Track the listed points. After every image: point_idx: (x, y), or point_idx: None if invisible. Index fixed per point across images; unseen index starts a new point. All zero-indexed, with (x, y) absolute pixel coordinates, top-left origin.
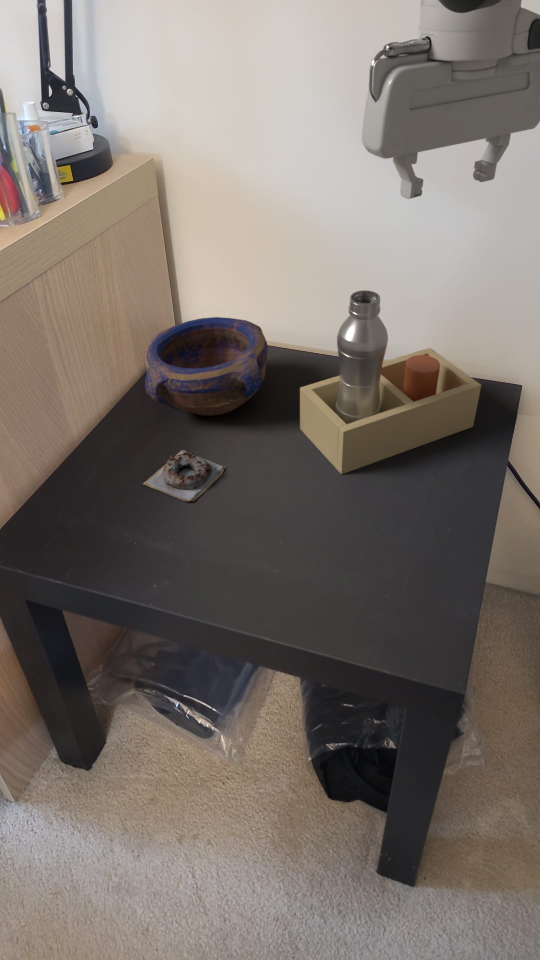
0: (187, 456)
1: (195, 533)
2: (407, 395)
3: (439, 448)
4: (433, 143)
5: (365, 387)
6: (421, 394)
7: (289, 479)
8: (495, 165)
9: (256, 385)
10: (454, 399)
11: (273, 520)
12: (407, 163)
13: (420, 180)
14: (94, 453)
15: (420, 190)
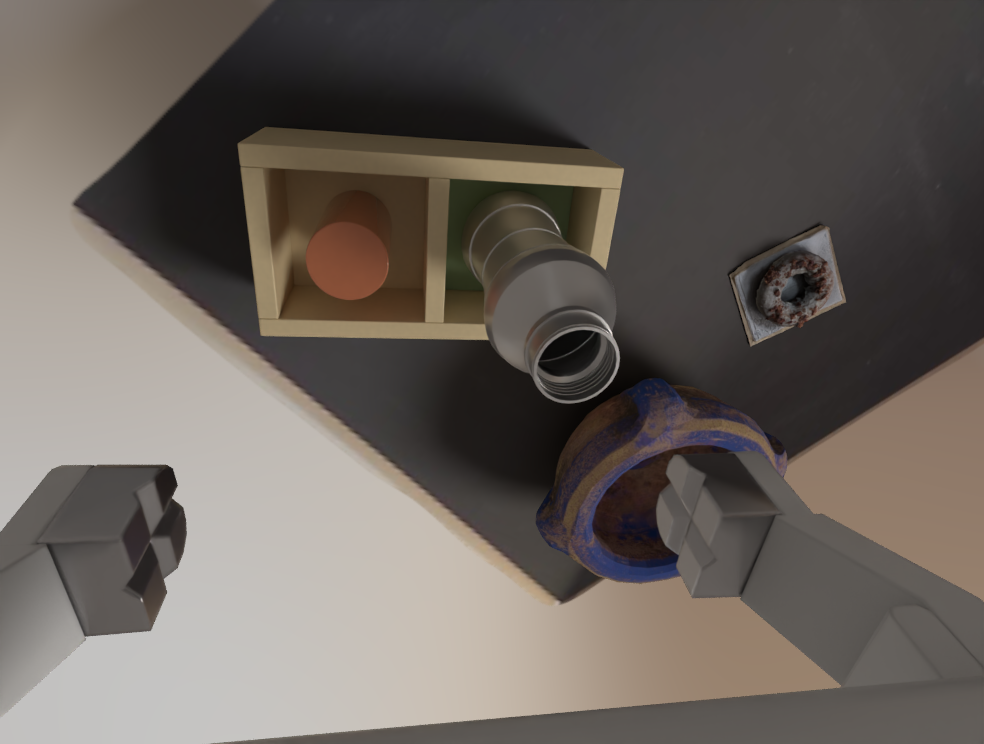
0: (782, 313)
1: (867, 155)
2: (390, 236)
3: (377, 107)
4: (944, 732)
5: (548, 230)
6: (372, 213)
7: (670, 190)
8: (15, 530)
9: (654, 382)
10: (323, 146)
11: (761, 109)
12: (980, 611)
13: (746, 512)
14: (841, 398)
15: (707, 469)
